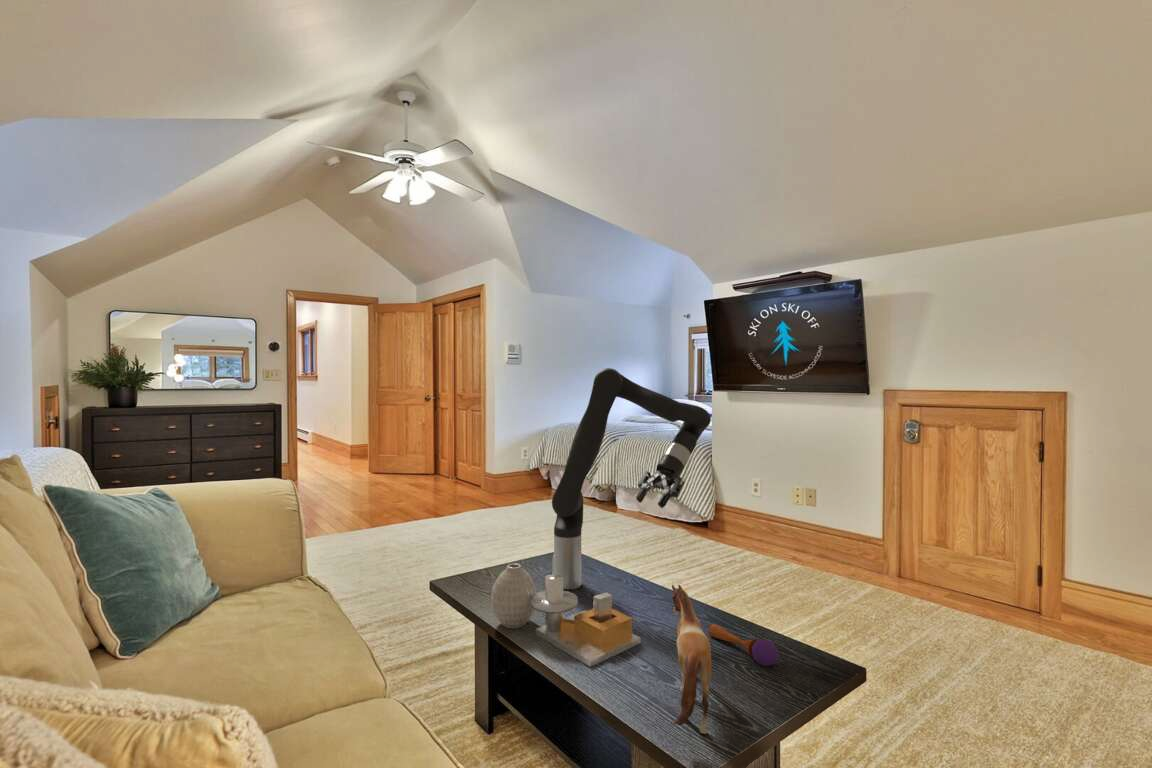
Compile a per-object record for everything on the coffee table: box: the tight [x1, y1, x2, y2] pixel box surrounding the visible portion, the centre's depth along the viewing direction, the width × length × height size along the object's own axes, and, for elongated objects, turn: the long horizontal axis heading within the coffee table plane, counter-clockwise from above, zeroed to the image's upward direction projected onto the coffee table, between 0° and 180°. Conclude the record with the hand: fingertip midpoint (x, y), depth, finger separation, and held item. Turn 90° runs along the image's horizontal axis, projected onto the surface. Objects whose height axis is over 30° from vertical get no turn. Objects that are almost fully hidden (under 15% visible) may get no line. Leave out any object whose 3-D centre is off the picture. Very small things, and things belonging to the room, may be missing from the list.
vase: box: [490, 563, 537, 630], centre depth 155 cm, size 13×13×17 cm
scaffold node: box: [530, 573, 641, 668], centre depth 147 cm, size 26×20×16 cm
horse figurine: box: [671, 584, 712, 735], centre depth 117 cm, size 31×8×21 cm, turn 170°
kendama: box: [708, 623, 779, 667], centre depth 140 cm, size 6×6×20 cm
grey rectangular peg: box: [592, 592, 613, 623], centre depth 146 cm, size 2×4×10 cm, turn 124°
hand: (649, 503), depth 162 cm, fingers open, 8 cm apart
